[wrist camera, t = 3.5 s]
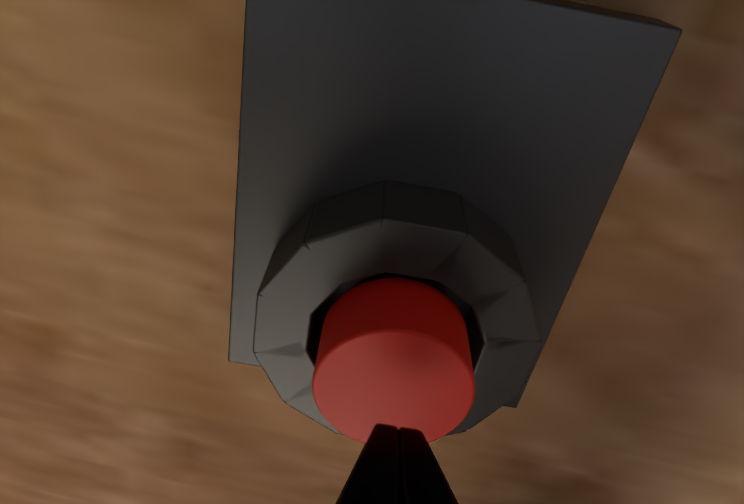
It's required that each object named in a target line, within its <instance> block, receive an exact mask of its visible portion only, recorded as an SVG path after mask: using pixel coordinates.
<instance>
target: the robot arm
mask: <svg viewBox="0 0 744 504" xmlns="http://www.w3.org/2000/svg"><path fill="white" fill-rule="evenodd" d="M336 504H458V502H457V500H456V498H455V496H454V494H453V492H452V490H451V488H450V486H449V484H448V482H447V480H446V478H445V476H444V474H443V472H442V470H441V468H440V466H439V464H438V462H437V460H436V458H435V456H434V454H433V452H432V450H431V448H430V446H429V444H428V442H427V440H426V438H425V436H424V434H423V432H422V431H420V430H418V429H413V428H407V427H400V428H399V429H398V428H397V427H396V426H394V425H388V424H382V423H377V424H376V425H375V426H374V427H373V429H372V431H371V433H370V435H369V437H368V439H367V441H366V443H365V445H364V447H363V449H362V451H361V453H360V455H359V457H358V459H357V461H356V463H355V465H354V468H353V470H352V472H351V474H350V476H349V478H348V480H347V482H346V484H345V486H344V488H343V490H342V492H341V494H340V496H339V498H338V500H337V502H336Z"/></svg>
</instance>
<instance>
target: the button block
mask: <svg viewBox="0 0 744 504" xmlns="http://www.w3.org/2000/svg"><path fill="white" fill-rule="evenodd" d="M681 34H682V29H680V28H678V27H676V26H673V25H671V24H668V23H666V22H664V21H661V20H659V19H655V18H650V17H645V16H640V15H635V14H630V13H625V12H620V11H615V10H610V9H605V8H600V7H595V6H590V5H585V4H580V3H575V2H570V1H565V0H246V6H245V26H244V47H243V67H242V88H241V108H240V129H239V149H238V170H237V190H236V211H235V231H234V252H233V272H232V293H231V313H230V334H229V354H228V360H229V361H230V362H236V363H242V364H248V365H255V366H261V367H262V368H263V370H264V371H265V373H266V375H267V376H268V378H269V380H270V381H271V383H272V384H273V386H274V388H275V389H276V391H277V393H278V394H279V396H280V397H281V399H282V401H284V402H285V403H286V404H288V405H289V406H291V407H293V408H294V409H296V410H298V411H299V412H301V413H303V414H304V415H306V416H308V417H309V418H311V419H313V420H314V421H316V422H318V423H319V424H321V425H323V426H325V427H326V428H328V429H330V430H331V431H333V432H335V433H337V434H338V433H340V434H343V433H341V432H340V431H338V430H337V429H336V428H334V427H333V426H332V425H331V424H330V423H329V422H328V421H327V420H326V419H325V418H324V417H323V415H322V414H321V412H320V411H319V409H318V407H317V405H316V403H315V400H314V396H313V391H312V378H313V373H314V368H315V363H316V358H317V353H318V348H319V343H320V338H321V333H322V328H323V323H324V319H325V317H326V315H327V312H328V311H329V309H330V307H331V306H332V305H333V303H334V302H335V301H336V300H337V299H338V298H339V297H340V296H341V295H343V294H344V293H345V292H347V291H348V290H350V289H351V288H353V287H355V286H357V285H359V284H361V283H364V282H367V281H371V280H375V279H381V278H406V279H412V280H416V281H420V282H423V283H425V284H428V285H430V286H432V287H434V288H436V289H438V290H439V291H441V292H442V293H444V294H445V295H446V296H447V297H449V298H450V299H451V300H452V301H453V302H454V304H455V305H456V306H457V307H458V309H459V310H460V312H461V313H462V316H463V318H464V320H465V323H466V327H467V333H468V340H469V347H470V353H471V360H472V366H473V373H474V380H475V397H474V401H473V404H472V406H471V409H470V411H469V413H468V414H467V416H466V417H465V419H464V420H463V421H462V422H461V423H460V424H459V425H458V426H457V427H456V428H455V429H454V430H452V431H451V432H449V433H448V434H446V435H445V436H447V435H452V434H456V433H461V432H465V431H466V430H467V429H470V428H472V427H473V426H475V425H476V424H478V423H479V422H480V421H482V420H483V419H485V418H486V417H487V416H489V415H490V414H492V413H493V412H495V411H496V410H497V409H499V408H500V407H502V406H507V407H513V408H516V407H517V405H518V403H519V401H520V399H521V396H522V394H523V392H524V389H525V387H526V385H527V383H528V380H529V378H530V376H531V374H532V371H533V369H534V367H535V365H536V362H537V360H538V358H539V355H540V353H541V351H542V349H543V346H544V344H545V342H546V340H547V337H548V335H549V333H550V331H551V328H552V326H553V324H554V321H555V319H556V317H557V315H558V312H559V310H560V308H561V306H562V303H563V301H564V299H565V297H566V294H567V292H568V290H569V287H570V285H571V283H572V281H573V278H574V276H575V274H576V272H577V269H578V267H579V265H580V263H581V260H582V258H583V256H584V253H585V251H586V249H587V247H588V244H589V242H590V240H591V238H592V235H593V233H594V231H595V229H596V226H597V224H598V222H599V219H600V217H601V215H602V213H603V210H604V208H605V206H606V204H607V201H608V199H609V197H610V195H611V192H612V190H613V188H614V185H615V183H616V181H617V179H618V176H619V174H620V172H621V170H622V167H623V165H624V163H625V161H626V158H627V156H628V154H629V151H630V149H631V147H632V145H633V142H634V140H635V138H636V136H637V133H638V131H639V129H640V127H641V124H642V122H643V120H644V117H645V115H646V113H647V111H648V108H649V106H650V104H651V102H652V99H653V97H654V95H655V93H656V90H657V88H658V86H659V83H660V81H661V79H662V77H663V74H664V72H665V70H666V68H667V65H668V63H669V61H670V59H671V56H672V54H673V52H674V49H675V47H676V45H677V43H678V40H679V38H680V36H681ZM343 435H345V434H343Z"/></svg>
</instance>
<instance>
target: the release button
mask: <svg viewBox="0 0 744 504" xmlns="http://www.w3.org/2000/svg"><path fill="white" fill-rule="evenodd" d="M312 391H313V396H314V400H315V403H316V405H317V407H318V409H319V411H320V412H321V414H322V415H323V417H324V418H325V419H326V420H327V421H328V422H329V423H330V424H331V425H332V426H333V427H334V428H336V429H337V430H338V431H340V432H341V433H343V434H345V435H347V436H349V437H350V438H353V439H355V440H357V441H360V442H363V443H366V441H367V439H368V437H369V435H370V433H371V431H372V429H373V427H374V426H375V425H376V424H377V423H382V424H388V425H394V426H396V427H397V428H398V429H399V428H400V427H407V428H413V429H418V430H420V431H422V432H423V434H424V436H425V438H426V440H427V442H428V443H429V442H431V441H434V440H437V439H439V438H441V437H443V436H445V435H446V434H448V433H449V432H451V431H452V430H454V429H455V428H456V427H457V426H458V425H459V424H460V423H461V422H462V421H463V420H464V419H465V417H466V416H467V414H468V413H469V411H470V409H471V406H472V404H473V401H474V397H475V380H474V373H473V366H472V360H471V353H470V347H469V340H468V333H467V327H466V323H465V320H464V318H463V316H462V313H461V312H460V310H459V309H458V307H457V306H456V305H455V304H454V302H453V301H452V300H451V299H450V298H449V297H447V296H446V295H445V294H444V293H442V292H441V291H439V290H438V289H436V288H434V287H432V286H430V285H428V284H425V283H423V282H420V281H416V280H412V279H406V278H381V279H375V280H371V281H367V282H364V283H361V284H359V285H357V286H355V287H353V288H351V289H350V290H348V291H347V292H345V293H344V294H343V295H341V296H340V297H339V298H338V299H337V300H336V301H335V302H334V303H333V305H332V306H331V307H330V309H329V311H328V312H327V315H326V317H325V319H324V323H323V328H322V333H321V338H320V343H319V348H318V353H317V358H316V363H315V368H314V373H313V378H312Z"/></svg>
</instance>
